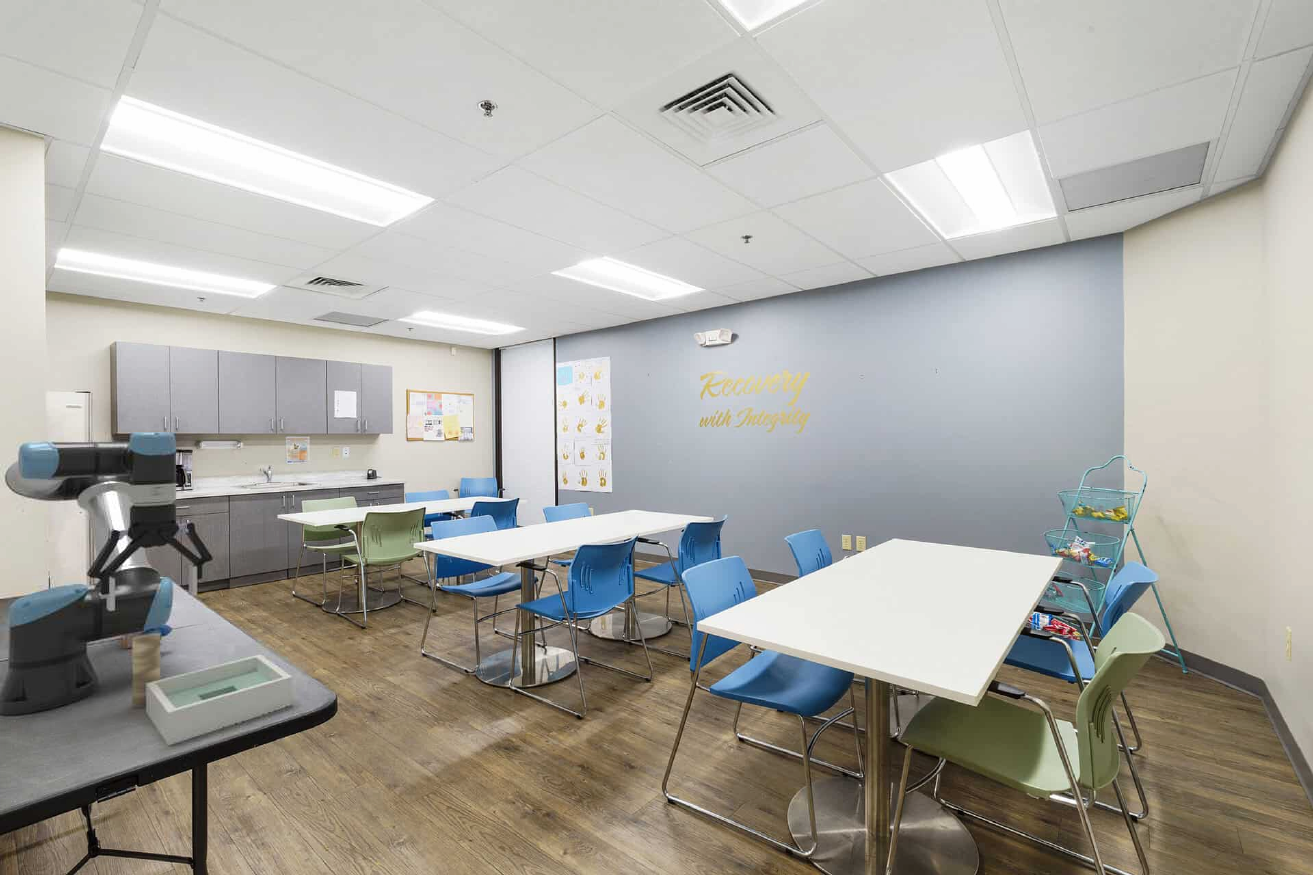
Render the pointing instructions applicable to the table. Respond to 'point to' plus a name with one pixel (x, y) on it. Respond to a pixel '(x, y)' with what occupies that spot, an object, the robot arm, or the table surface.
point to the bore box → (216, 697)
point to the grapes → (158, 631)
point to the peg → (145, 665)
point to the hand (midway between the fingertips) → (153, 601)
